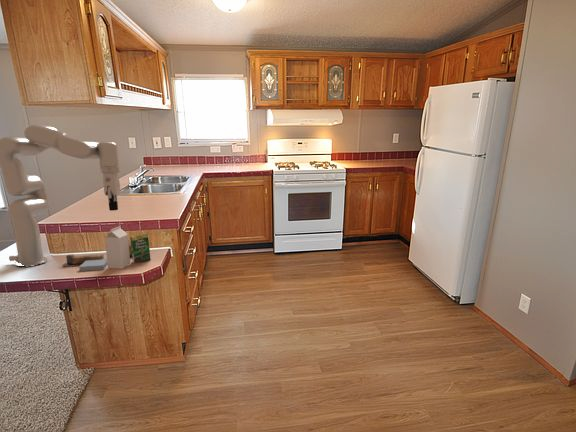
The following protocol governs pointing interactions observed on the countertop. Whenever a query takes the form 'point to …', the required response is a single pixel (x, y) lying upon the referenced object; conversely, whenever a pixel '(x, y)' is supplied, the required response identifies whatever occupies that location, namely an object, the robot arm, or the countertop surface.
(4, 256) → the countertop surface
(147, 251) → the coffee box
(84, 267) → the seat board
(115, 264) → the milk carton
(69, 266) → the hinge plate
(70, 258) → the leg
